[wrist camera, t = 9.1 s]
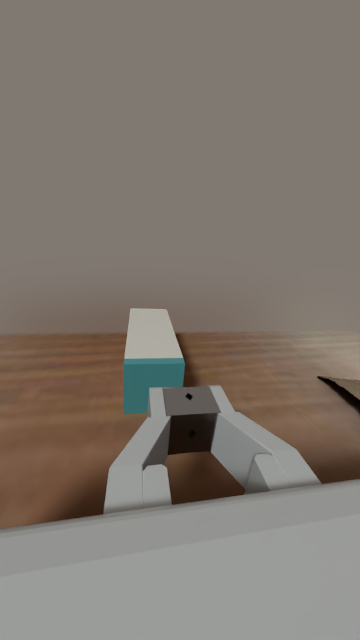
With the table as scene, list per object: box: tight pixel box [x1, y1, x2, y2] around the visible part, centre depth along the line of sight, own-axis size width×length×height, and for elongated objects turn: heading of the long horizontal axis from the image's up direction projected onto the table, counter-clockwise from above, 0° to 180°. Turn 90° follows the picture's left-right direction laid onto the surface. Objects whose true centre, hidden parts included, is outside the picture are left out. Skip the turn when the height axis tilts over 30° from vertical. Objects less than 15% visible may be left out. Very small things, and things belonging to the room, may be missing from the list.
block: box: [124, 308, 185, 414], centre depth 23 cm, size 4×4×13 cm
